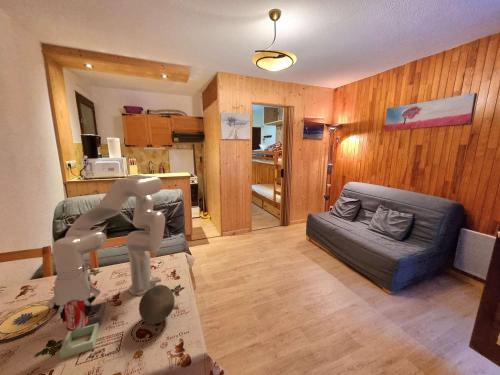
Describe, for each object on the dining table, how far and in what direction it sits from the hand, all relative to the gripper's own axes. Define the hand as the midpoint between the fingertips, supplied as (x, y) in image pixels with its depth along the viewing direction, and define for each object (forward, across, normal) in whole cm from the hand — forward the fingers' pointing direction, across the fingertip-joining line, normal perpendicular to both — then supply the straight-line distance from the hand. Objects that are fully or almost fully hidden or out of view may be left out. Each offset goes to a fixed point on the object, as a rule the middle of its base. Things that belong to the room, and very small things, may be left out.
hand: (77, 315), depth 78 cm
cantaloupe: (+12, -27, 0) cm, 30 cm away
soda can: (+4, 0, 0) cm, 4 cm away
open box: (+12, 0, -7) cm, 14 cm away
